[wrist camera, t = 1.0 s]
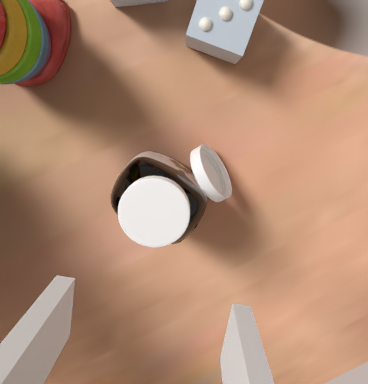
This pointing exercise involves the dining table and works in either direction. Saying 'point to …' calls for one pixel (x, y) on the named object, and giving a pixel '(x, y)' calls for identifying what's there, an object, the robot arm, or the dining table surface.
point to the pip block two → (133, 2)
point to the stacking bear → (32, 40)
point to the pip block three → (222, 27)
